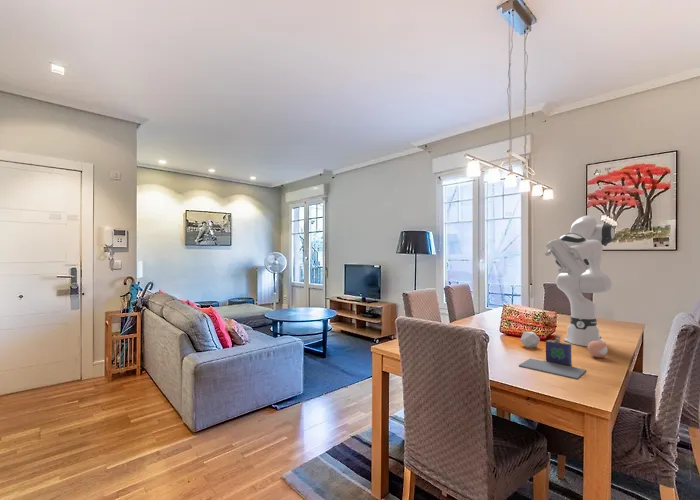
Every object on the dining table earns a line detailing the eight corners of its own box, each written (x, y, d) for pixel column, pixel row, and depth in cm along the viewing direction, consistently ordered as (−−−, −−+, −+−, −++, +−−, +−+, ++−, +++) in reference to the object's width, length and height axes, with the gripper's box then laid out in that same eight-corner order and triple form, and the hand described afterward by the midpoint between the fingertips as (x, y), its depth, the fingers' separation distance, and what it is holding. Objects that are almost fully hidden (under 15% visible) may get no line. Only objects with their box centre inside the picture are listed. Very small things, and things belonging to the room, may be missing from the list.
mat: (530, 359, 159) (530, 358, 159) (586, 370, 143) (586, 369, 143) (518, 366, 149) (518, 365, 149) (577, 379, 133) (577, 378, 133)
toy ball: (608, 360, 156) (608, 343, 157) (588, 358, 161) (587, 341, 161) (606, 356, 163) (606, 339, 163) (587, 354, 167) (586, 337, 168)
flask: (572, 365, 151) (571, 338, 151) (571, 366, 148) (570, 340, 148) (546, 360, 157) (546, 335, 157) (545, 362, 155) (544, 337, 155)
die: (538, 351, 175) (544, 334, 178) (522, 342, 176) (529, 326, 180) (530, 352, 182) (536, 337, 186) (515, 344, 184) (521, 328, 187)
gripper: (564, 234, 166) (543, 241, 162) (593, 269, 157) (571, 277, 153) (556, 241, 172) (535, 248, 168) (583, 275, 162) (562, 283, 158)
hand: (552, 262), depth 160 cm, fingers open, 8 cm apart
